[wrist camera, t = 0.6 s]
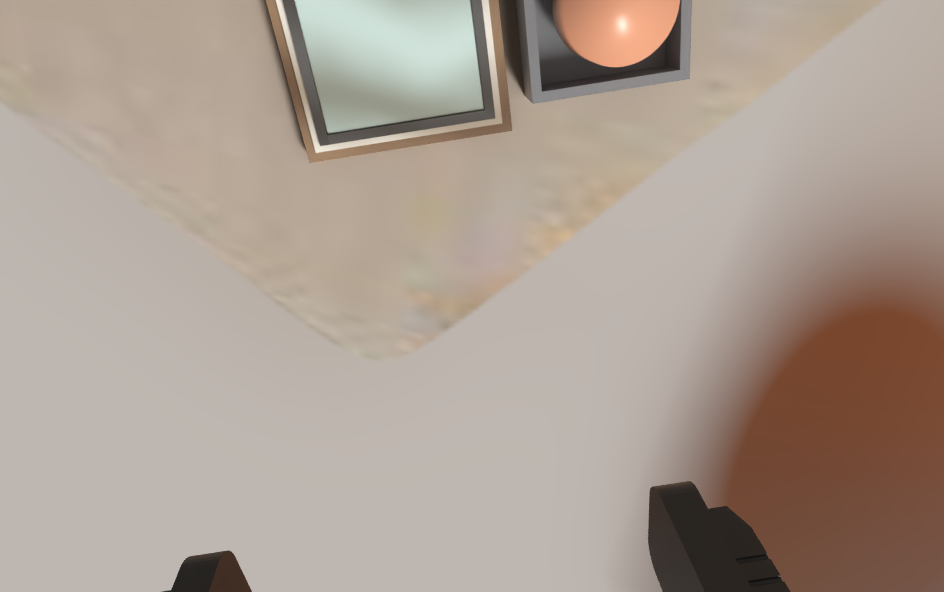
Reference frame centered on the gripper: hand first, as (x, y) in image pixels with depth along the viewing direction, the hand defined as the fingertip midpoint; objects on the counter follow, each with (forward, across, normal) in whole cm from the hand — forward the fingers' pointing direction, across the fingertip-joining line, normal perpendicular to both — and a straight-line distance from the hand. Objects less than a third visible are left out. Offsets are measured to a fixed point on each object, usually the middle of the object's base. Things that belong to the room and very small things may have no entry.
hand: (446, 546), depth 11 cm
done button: (+23, -10, -7) cm, 26 cm away
